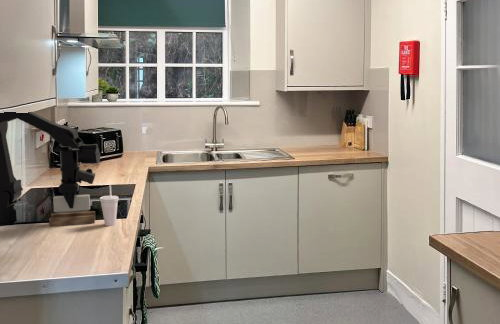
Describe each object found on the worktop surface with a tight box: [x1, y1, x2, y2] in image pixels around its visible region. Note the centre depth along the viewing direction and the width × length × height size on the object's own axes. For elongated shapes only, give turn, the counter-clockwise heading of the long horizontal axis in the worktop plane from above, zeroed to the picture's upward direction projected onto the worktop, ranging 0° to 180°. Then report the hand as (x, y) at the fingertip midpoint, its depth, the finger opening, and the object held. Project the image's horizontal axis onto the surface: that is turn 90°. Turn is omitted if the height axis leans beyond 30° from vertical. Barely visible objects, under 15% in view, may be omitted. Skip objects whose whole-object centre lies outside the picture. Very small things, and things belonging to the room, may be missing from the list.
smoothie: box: [99, 184, 120, 227], centre depth 186 cm, size 6×6×14 cm
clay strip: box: [52, 194, 91, 213], centre depth 190 cm, size 12×3×5 cm, turn 103°
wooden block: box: [48, 210, 96, 227], centre depth 191 cm, size 15×7×3 cm, turn 103°
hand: (71, 207), depth 190 cm, fingers closed on clay strip, 3 cm apart
